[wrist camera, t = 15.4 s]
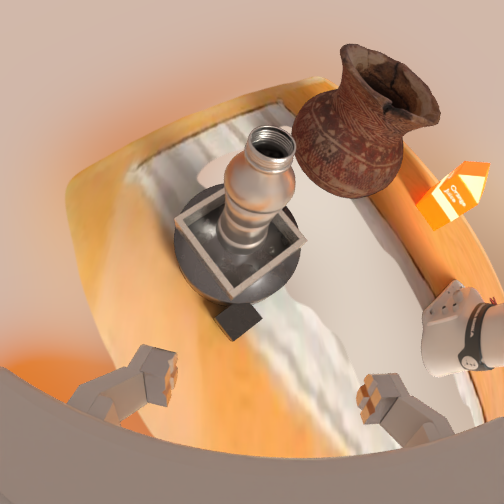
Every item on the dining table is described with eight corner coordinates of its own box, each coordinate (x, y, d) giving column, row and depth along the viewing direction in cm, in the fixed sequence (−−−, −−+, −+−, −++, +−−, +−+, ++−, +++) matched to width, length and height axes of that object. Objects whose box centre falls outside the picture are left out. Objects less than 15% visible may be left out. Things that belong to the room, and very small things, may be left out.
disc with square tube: (244, 181, 47) (252, 153, 39) (318, 269, 44) (340, 254, 36) (154, 237, 41) (145, 215, 33) (230, 341, 38) (236, 341, 31)
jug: (360, 233, 48) (454, 158, 24) (262, 174, 48) (306, 59, 24) (383, 160, 55) (445, 90, 32) (306, 113, 56) (346, 26, 32)
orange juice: (415, 205, 53) (473, 159, 34) (428, 189, 56) (480, 147, 37) (434, 232, 52) (496, 193, 33) (445, 214, 55) (500, 177, 36)
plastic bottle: (224, 210, 39) (243, 103, 20) (268, 226, 39) (320, 131, 20) (208, 249, 37) (213, 157, 18) (255, 267, 37) (306, 190, 18)
